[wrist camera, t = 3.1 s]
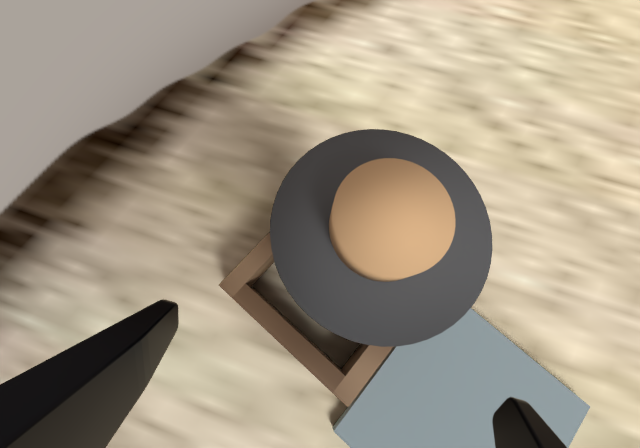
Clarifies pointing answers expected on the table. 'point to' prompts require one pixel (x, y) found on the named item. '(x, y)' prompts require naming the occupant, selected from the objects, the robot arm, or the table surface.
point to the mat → (454, 392)
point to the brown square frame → (322, 367)
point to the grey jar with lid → (381, 238)
